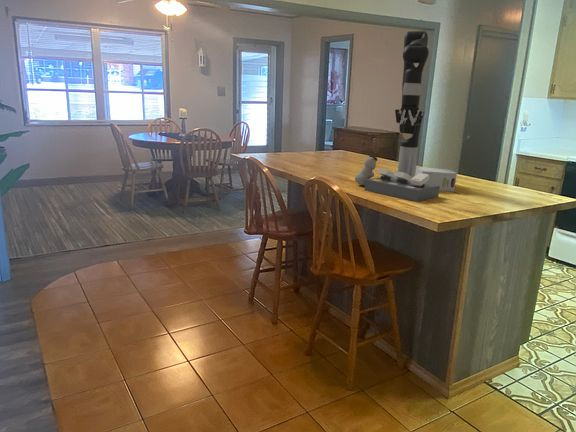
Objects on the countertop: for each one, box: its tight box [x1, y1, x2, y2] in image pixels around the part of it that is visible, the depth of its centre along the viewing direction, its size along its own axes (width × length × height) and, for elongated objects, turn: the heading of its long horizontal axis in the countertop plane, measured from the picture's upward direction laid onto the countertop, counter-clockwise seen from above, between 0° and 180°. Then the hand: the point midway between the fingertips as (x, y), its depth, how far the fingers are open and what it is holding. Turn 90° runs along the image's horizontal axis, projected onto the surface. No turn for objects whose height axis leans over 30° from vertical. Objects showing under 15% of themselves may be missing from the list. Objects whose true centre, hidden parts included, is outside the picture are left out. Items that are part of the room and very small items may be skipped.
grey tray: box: [364, 175, 440, 203], centre depth 211 cm, size 18×28×6 cm, turn 43°
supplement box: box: [415, 166, 458, 192], centre depth 226 cm, size 17×13×9 cm
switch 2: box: [393, 170, 412, 181], centre depth 209 cm, size 7×5×2 cm
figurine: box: [354, 154, 378, 187], centre depth 224 cm, size 9×10×15 cm
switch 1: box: [377, 167, 395, 178], centre depth 216 cm, size 7×5×2 cm
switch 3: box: [410, 173, 429, 186], centre depth 203 cm, size 7×5×2 cm
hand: (407, 133), depth 204 cm, fingers open, 4 cm apart
